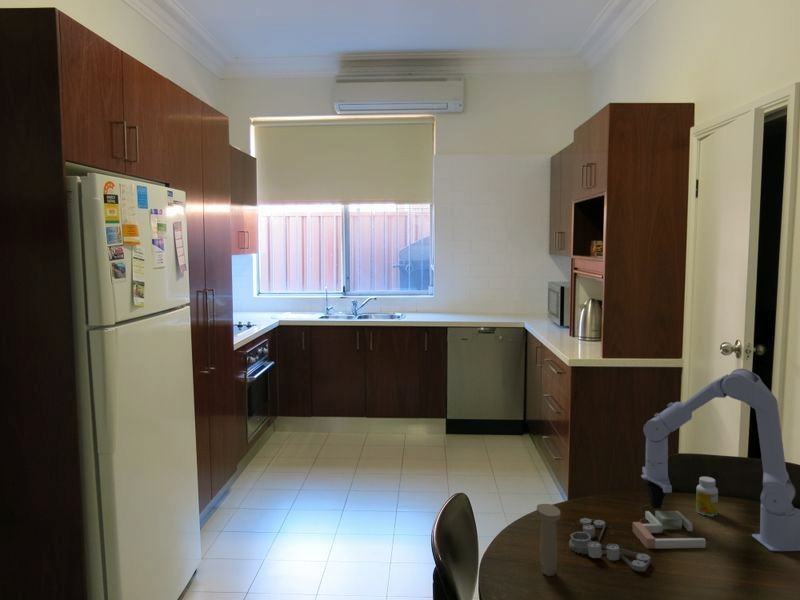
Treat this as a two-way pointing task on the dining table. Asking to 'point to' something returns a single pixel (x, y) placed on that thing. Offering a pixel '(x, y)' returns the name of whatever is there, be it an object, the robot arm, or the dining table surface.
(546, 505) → the handle
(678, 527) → the block
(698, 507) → the supplement bottle
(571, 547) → the pulley system
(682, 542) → the channel
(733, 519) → the dining table surface
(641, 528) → the block
